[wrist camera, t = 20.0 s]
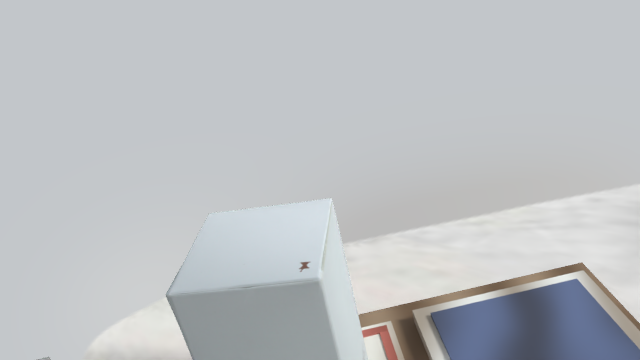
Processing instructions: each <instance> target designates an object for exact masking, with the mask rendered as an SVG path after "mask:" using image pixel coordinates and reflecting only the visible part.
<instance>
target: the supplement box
mask: <svg viewBox="0 0 640 360" xmlns="http://www.w3.org/2000/svg"><path fill="white" fill-rule="evenodd" d="M166 297H167V300H168V302H169V304H170V306H171V308H172V310H173V313H174V315H175V317H176V320H177V322H178V324H179V327H180V329H181V332H182V334H183V336H184V339H185V341H186V344H187V346H188V349H189V351H190V354H191V356H192V359H193V360H368V356H367V352H366V347H365V343H364V338H363V334H362V329H361V325H360V320H359V316H358V312H357V307H356V303H355V298H354V294H353V289H352V284H351V280H350V275H349V271H348V266H347V262H346V257H345V253H344V248H343V244H342V240H341V235H340V231H339V227H338V222H337V218H336V214H335V209H334V205H333V201H332V199H331V198H327V199H320V200H313V201H306V202H298V203H290V204H282V205H275V206H267V207H259V208H251V209H243V210H235V211H226V212H217V213H210V214H208V216H207V218H206V220H205V222H204V224H203V226H202V228H201V230H200V232H199V234H198V236H197V237H196V239H195V241H194V243H193V245H192V247H191V249H190V251H189V253H188V255H187V257H186V259H185V261H184V263H183V265H182V266H181V268H180V270H179V272H178V273H177V275H176V277H175V279H174V281H173V282H172V285H171V286H170V288H169V290H168V291H167V293H166Z"/></svg>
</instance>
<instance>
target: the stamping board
mask: <svg viewBox="0 0 640 360" xmlns="http://www.w3.org/2000/svg"><path fill="white" fill-rule="evenodd" d="M358 316H359V320H360V325H361V329H362V334H363V338H364V343H365V347H366V352H367V356H368V360H640V323H639V322H638V321H637V320H636V319H635V318H634V317H633V316H632V315H631V314H630V313H629V312H628V311H627V310H626V309H625V308H624V307H623V305H622V304H621V303H620V302H619V301H618V300H617V299H616V298H615V297H614V296H613V295H612V294H611V293H610V292H609V291H608V290H607V289H606V287H605V286H604V285H603V284H602V283H601V282H600V281H599V280H598V279H597V278H596V277H595V276H594V275H593V274H592V273H591V272H590V270H589V269H588V268H587V267H586V266H585V265H584V264H583V263H578V264H574V265H569V266H565V267H561V268H557V269H552V270H548V271H544V272H539V273H535V274H531V275H527V276H522V277H518V278H514V279H510V280H505V281H501V282H497V283H492V284H488V285H484V286H480V287H475V288H471V289H467V290H462V291H458V292H454V293H450V294H445V295H441V296H437V297H433V298H428V299H424V300H420V301H415V302H411V303H407V304H403V305H398V306H394V307H390V308H386V309H381V310H377V311H373V312H368V313H364V314H360V315H358Z"/></svg>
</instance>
